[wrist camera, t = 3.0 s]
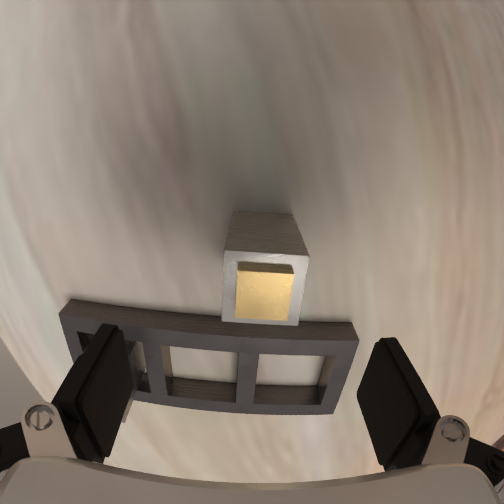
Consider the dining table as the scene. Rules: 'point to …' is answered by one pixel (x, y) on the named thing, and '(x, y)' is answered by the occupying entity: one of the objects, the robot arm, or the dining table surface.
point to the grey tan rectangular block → (133, 368)
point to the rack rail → (221, 339)
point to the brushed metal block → (263, 269)
